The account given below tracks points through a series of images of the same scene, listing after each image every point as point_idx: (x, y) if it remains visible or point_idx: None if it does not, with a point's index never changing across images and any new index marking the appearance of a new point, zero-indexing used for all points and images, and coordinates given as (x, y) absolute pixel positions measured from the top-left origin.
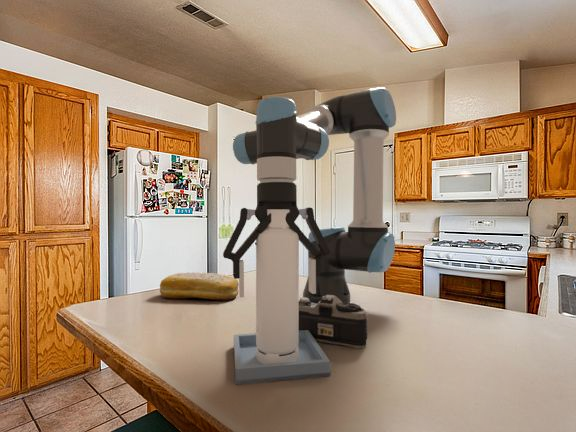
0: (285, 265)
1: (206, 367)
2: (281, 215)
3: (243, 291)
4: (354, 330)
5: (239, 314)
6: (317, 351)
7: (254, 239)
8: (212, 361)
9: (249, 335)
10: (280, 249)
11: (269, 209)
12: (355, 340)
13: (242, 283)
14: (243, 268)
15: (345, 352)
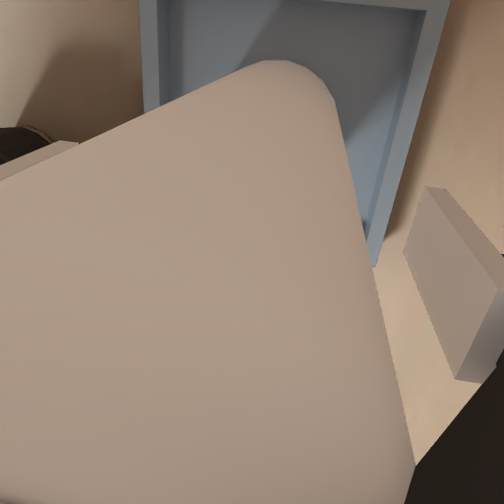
0: (168, 111)
1: (486, 139)
2: None
3: (435, 196)
4: (11, 144)
5: None
6: (158, 60)
7: (458, 449)
8: (457, 173)
9: None
10: (164, 147)
11: None
12: (28, 135)
13: (453, 216)
14: (479, 261)
15: (76, 117)
